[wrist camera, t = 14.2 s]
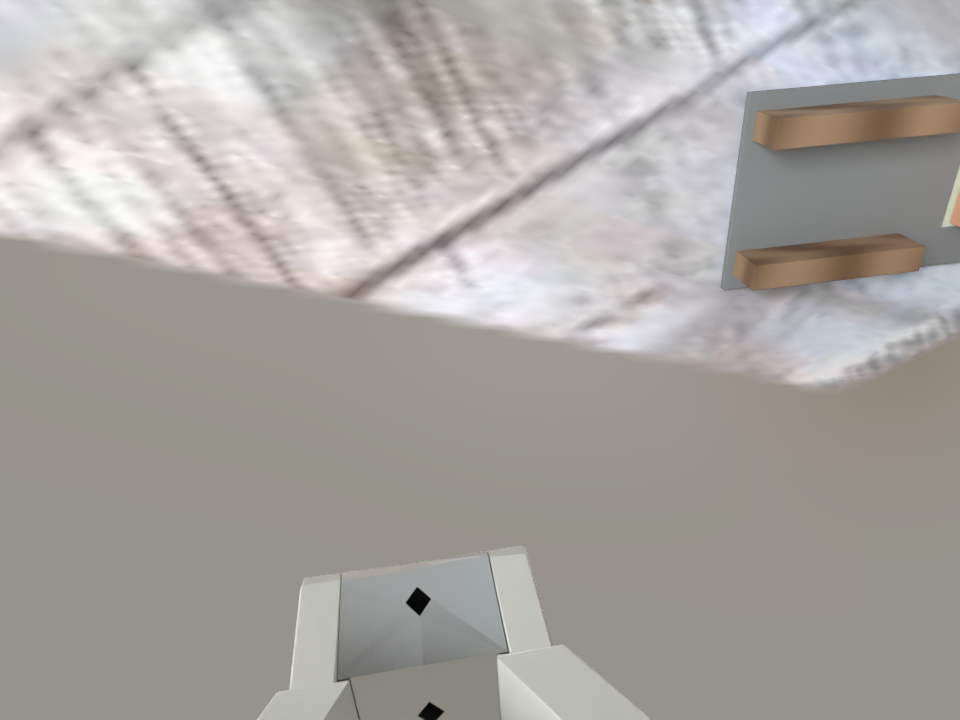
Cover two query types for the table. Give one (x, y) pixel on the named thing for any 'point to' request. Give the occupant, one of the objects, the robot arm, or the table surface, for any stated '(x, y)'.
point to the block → (956, 213)
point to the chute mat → (846, 179)
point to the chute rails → (838, 128)
